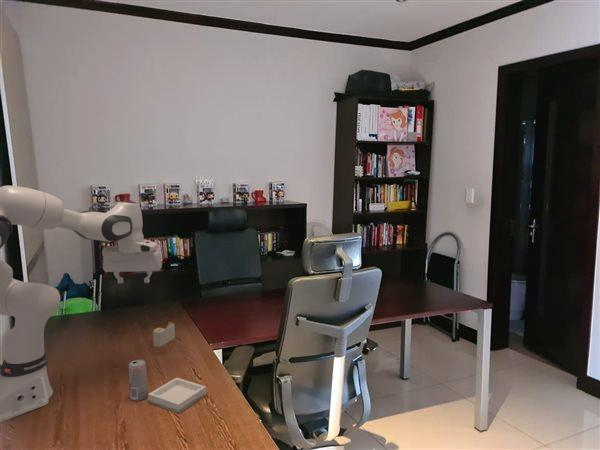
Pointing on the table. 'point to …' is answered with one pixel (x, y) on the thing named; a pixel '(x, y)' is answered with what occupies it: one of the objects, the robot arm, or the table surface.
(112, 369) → the table surface
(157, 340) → the model
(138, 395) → the energy drink
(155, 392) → the tray
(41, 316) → the robot arm
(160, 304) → the table surface
